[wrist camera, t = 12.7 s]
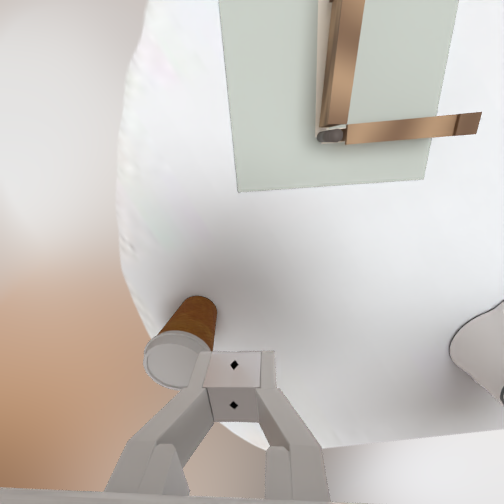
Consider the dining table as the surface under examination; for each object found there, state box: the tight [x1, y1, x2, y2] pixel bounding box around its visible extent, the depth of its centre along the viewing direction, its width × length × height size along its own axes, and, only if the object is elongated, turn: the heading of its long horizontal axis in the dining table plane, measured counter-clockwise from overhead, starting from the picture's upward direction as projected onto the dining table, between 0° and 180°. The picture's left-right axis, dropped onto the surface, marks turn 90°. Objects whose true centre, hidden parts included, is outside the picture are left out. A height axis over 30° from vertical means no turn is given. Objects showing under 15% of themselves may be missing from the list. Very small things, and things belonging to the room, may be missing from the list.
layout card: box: [219, 0, 459, 192], centre depth 29 cm, size 24×20×1 cm
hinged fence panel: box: [319, 0, 365, 127], centre depth 24 cm, size 13×2×6 cm, turn 0°
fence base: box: [317, 112, 482, 145], centre depth 26 cm, size 14×2×7 cm, turn 95°
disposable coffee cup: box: [143, 296, 217, 391], centre depth 38 cm, size 10×10×12 cm
